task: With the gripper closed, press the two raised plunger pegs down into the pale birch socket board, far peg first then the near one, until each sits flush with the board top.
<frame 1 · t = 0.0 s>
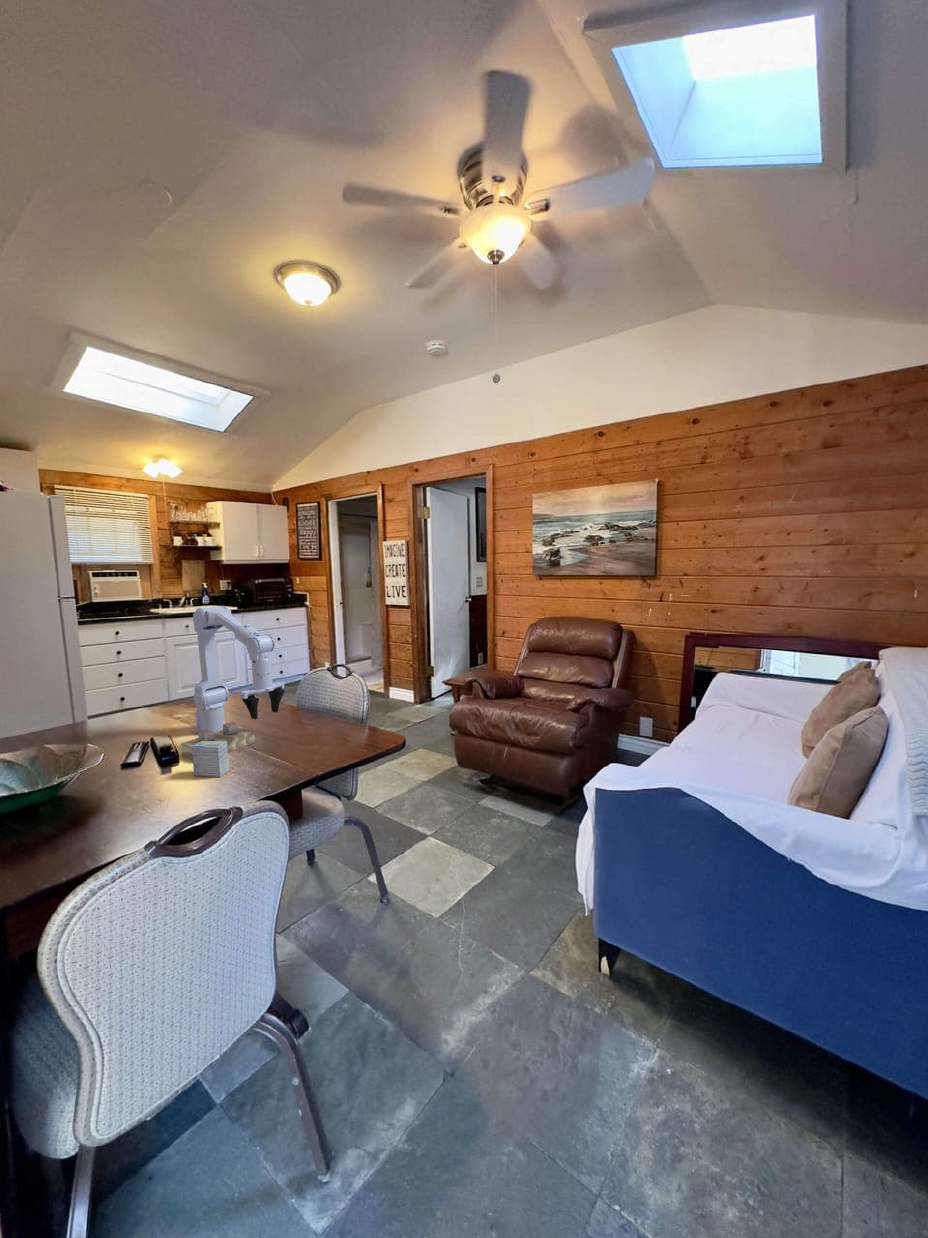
hand: (264, 715, 152), 10 cm above the table, fingers open, 7 cm apart
near peg: (206, 737, 147), point 5 cm above the table, slide at 3.0 cm
socket board: (219, 749, 151), on the table
medicine box: (212, 774, 133), on the table
far peg: (230, 729, 154), point 5 cm above the table, slide at 3.0 cm
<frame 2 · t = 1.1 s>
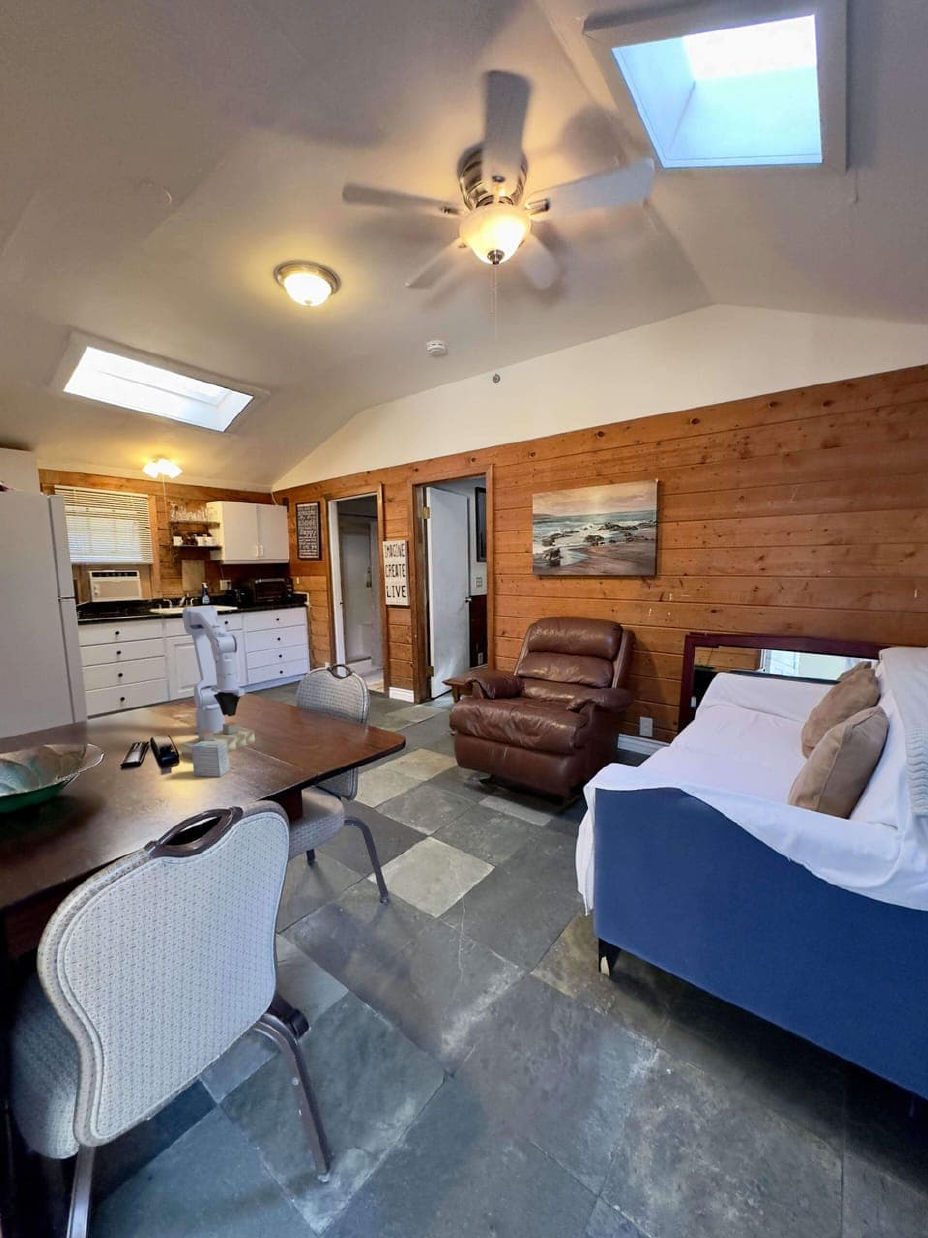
hand: (229, 715, 153), 10 cm above the table, fingers closed
nothing on the table moved.
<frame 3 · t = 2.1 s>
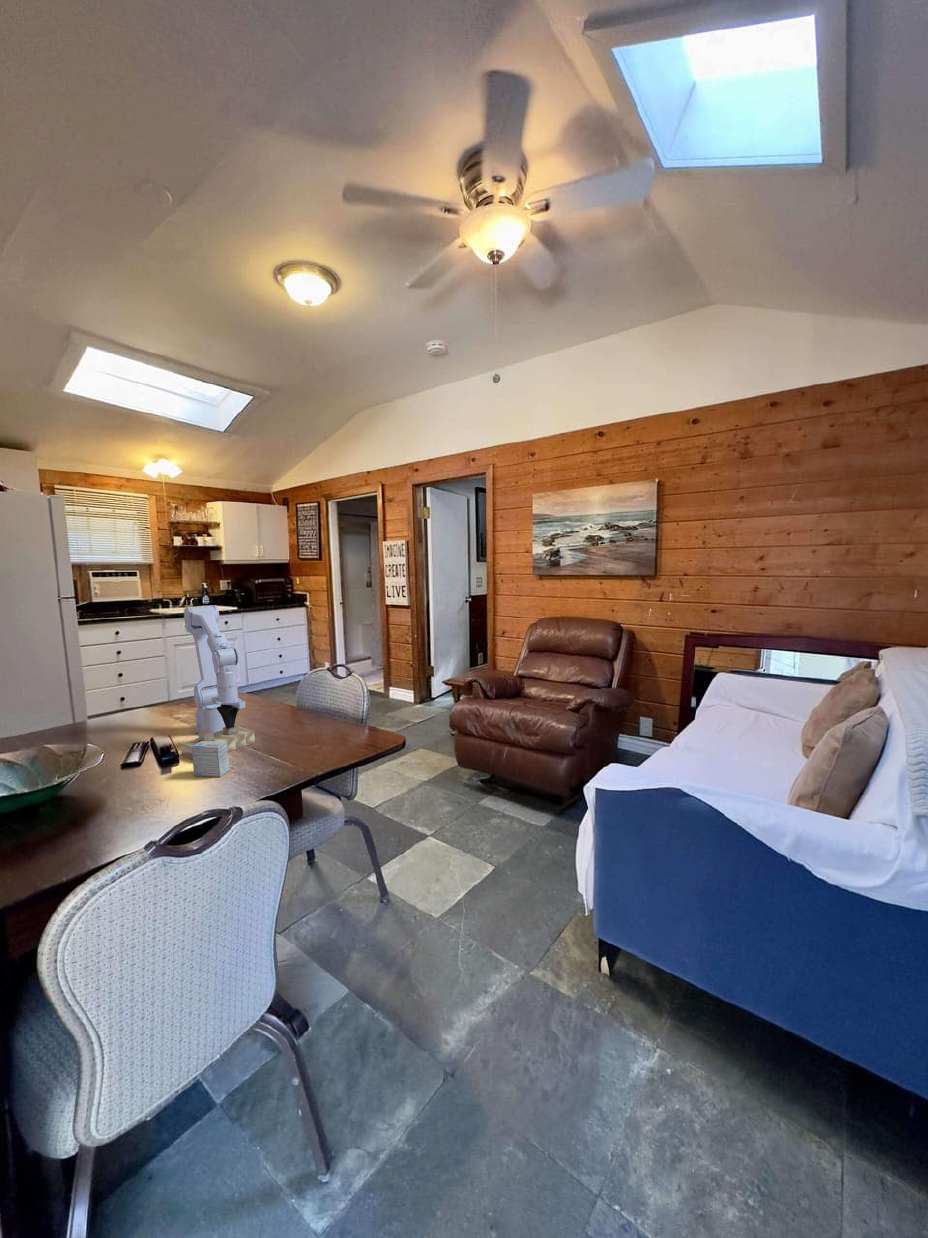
hand: (230, 727, 153), 6 cm above the table, fingers closed, pressing on far peg
far peg: (230, 733, 154), point 4 cm above the table, slide at 1.9 cm, touching gripper
everything else where it was.
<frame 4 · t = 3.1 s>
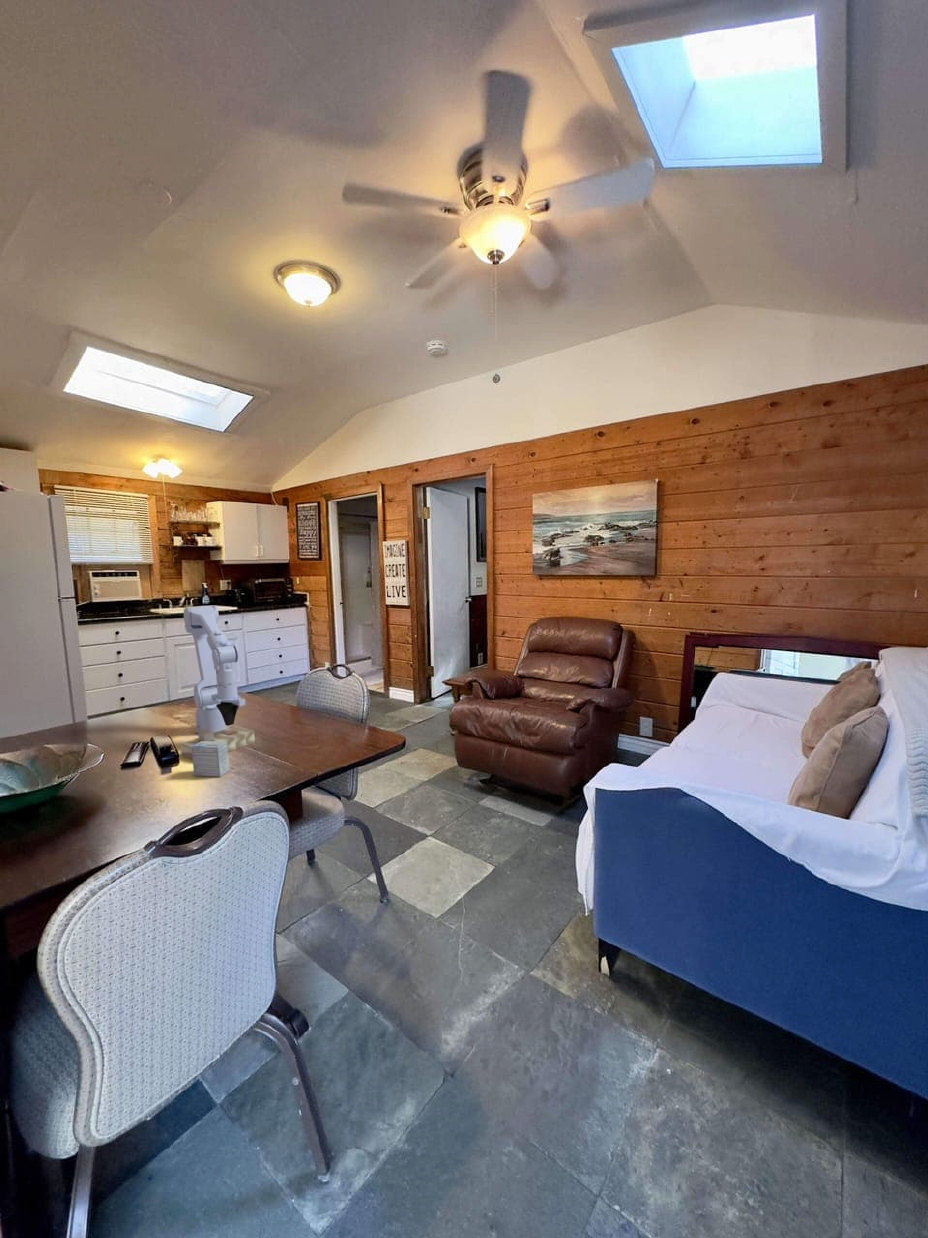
hand: (229, 724, 153), 7 cm above the table, fingers closed
far peg: (230, 738, 154), point 2 cm above the table, slide at 0.3 cm
everything else where it was.
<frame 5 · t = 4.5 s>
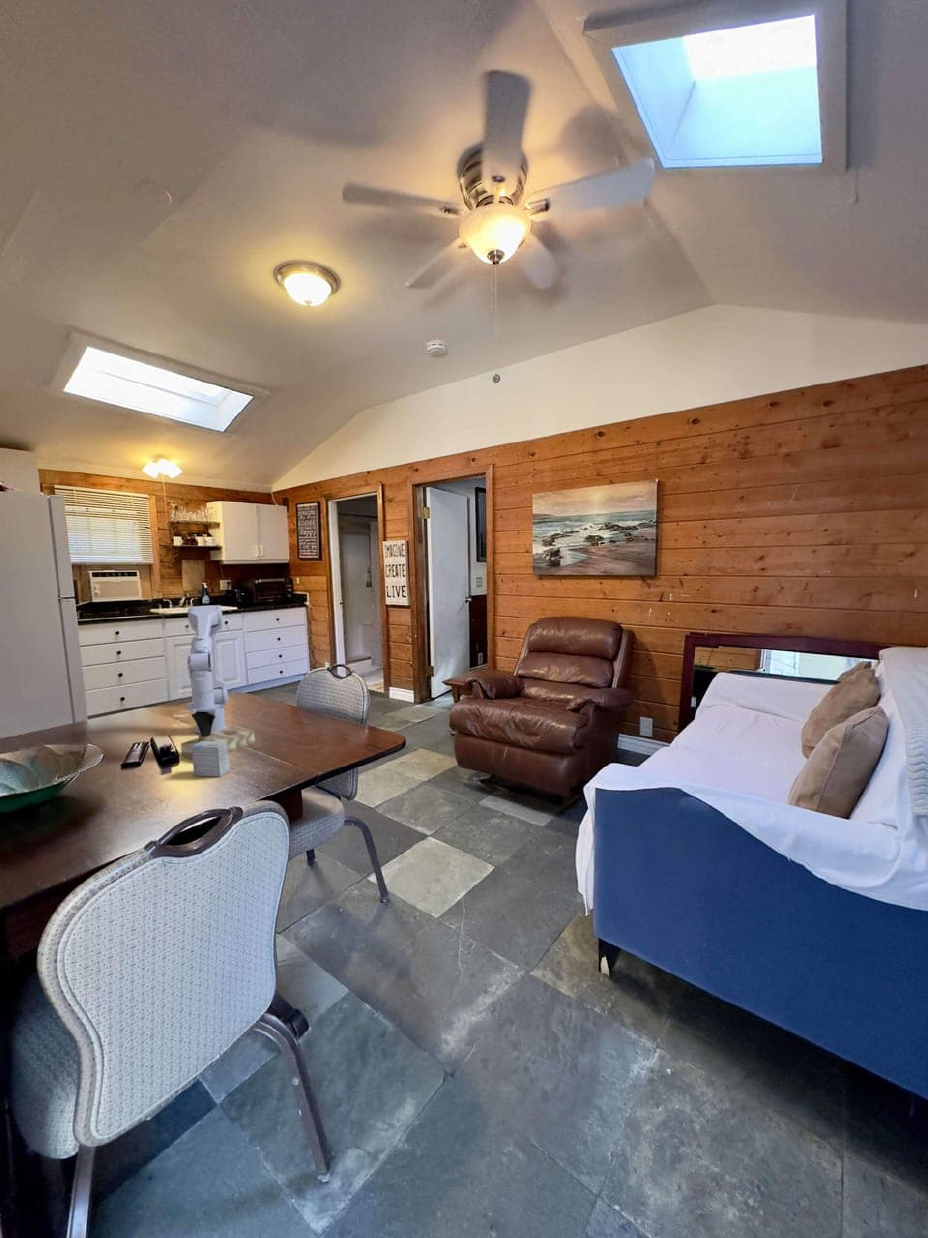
hand: (206, 735, 146), 6 cm above the table, fingers closed, pressing on near peg
near peg: (206, 741, 147), point 4 cm above the table, slide at 1.9 cm, touching gripper
everything else where it was.
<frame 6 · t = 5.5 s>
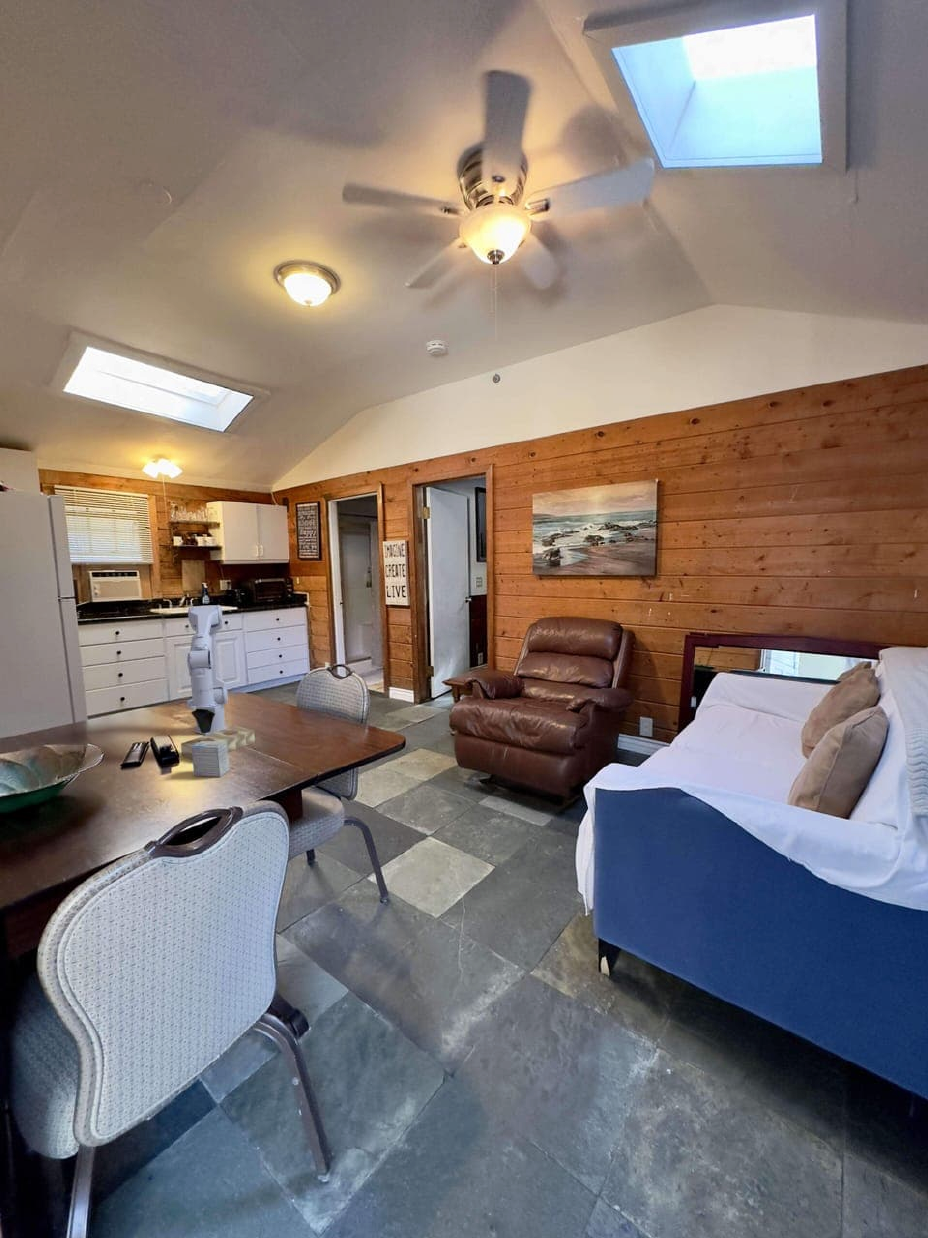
hand: (205, 732, 147), 7 cm above the table, fingers closed
near peg: (206, 746, 147), point 2 cm above the table, slide at 0.3 cm
everything else where it was.
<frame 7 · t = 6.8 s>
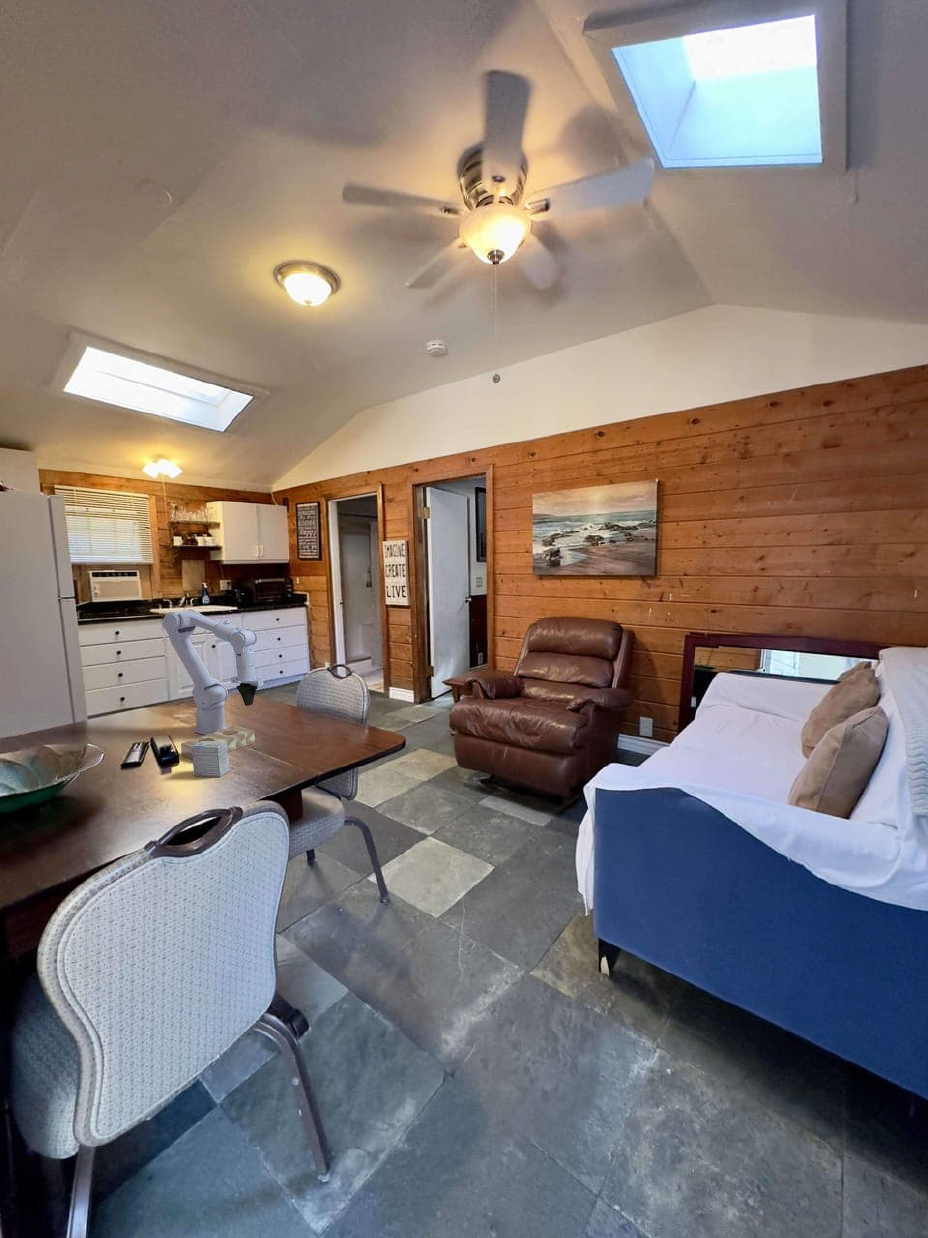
hand: (248, 705, 162), 10 cm above the table, fingers closed
nothing on the table moved.
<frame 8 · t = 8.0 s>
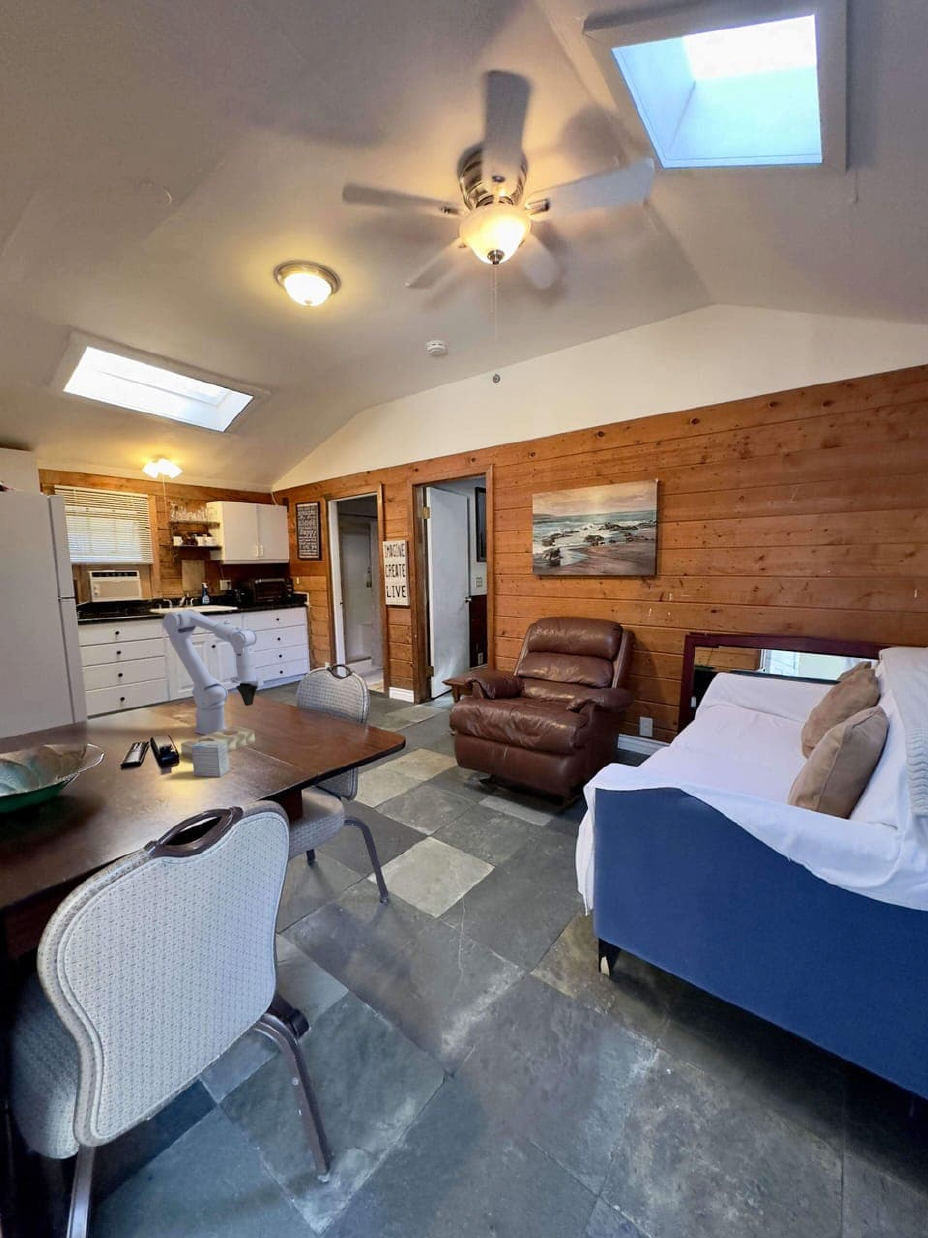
hand: (248, 705, 162), 10 cm above the table, fingers closed
nothing on the table moved.
at the end: far peg slide at 0.3 cm; near peg slide at 0.3 cm; near peg touching nothing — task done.
